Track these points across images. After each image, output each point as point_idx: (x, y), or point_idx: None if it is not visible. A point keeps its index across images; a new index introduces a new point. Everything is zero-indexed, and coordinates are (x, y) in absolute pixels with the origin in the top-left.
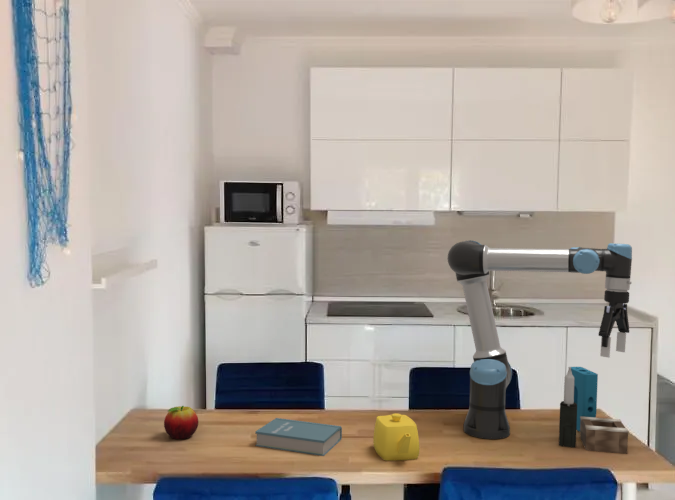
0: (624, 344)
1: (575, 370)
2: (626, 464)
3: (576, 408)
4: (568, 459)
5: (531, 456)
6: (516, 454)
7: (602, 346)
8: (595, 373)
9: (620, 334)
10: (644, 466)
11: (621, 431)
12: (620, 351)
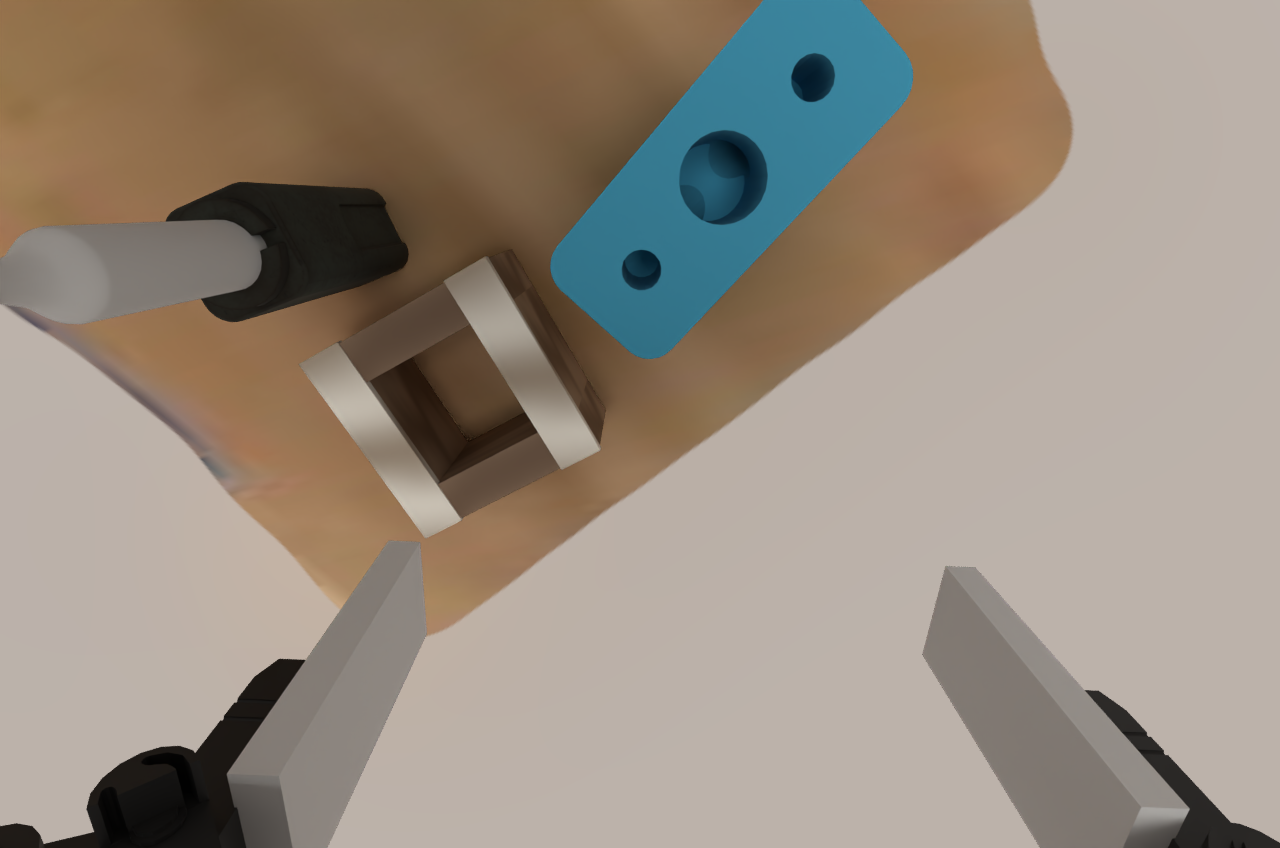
0: (973, 736)
1: (673, 108)
2: (327, 519)
3: (230, 319)
4: (173, 322)
5: (49, 168)
6: (2, 92)
7: (280, 667)
8: (679, 328)
9: (1091, 819)
10: (363, 572)
11: (407, 509)
12: (932, 619)
